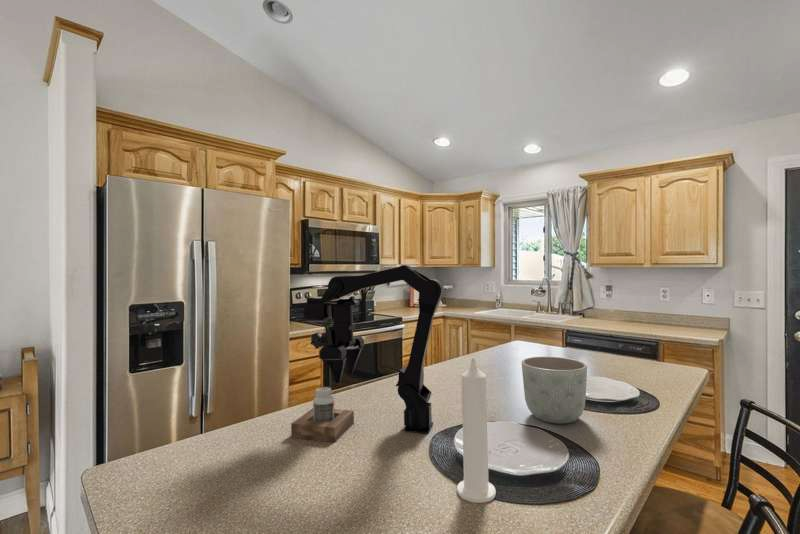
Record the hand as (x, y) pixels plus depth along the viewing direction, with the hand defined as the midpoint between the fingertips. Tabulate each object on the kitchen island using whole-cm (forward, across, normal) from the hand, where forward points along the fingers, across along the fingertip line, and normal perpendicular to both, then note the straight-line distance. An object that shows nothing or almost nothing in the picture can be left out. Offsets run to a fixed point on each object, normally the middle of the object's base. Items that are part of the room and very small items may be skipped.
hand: (344, 378), depth 108 cm
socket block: (+12, +6, -4) cm, 14 cm away
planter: (+13, -14, +56) cm, 59 cm away
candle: (+13, +27, +36) cm, 47 cm away
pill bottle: (+11, +6, -4) cm, 13 cm away
